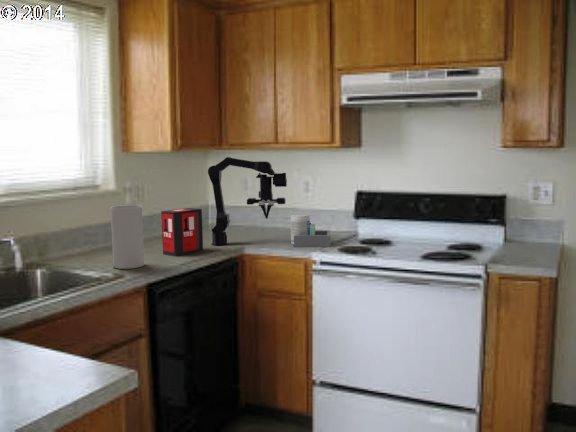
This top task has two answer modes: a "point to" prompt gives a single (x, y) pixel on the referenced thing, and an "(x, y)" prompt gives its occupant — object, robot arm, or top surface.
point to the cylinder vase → (127, 236)
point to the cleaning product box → (182, 231)
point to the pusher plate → (312, 229)
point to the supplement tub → (299, 225)
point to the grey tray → (313, 239)
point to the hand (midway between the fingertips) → (266, 218)
